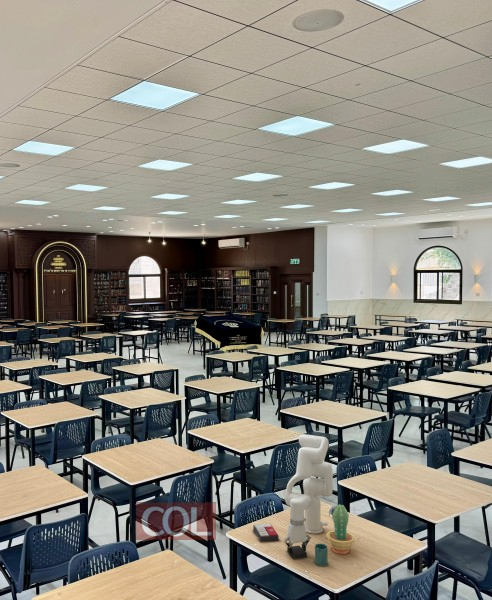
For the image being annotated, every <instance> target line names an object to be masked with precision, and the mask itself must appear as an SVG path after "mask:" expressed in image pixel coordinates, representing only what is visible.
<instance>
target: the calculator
mask: <svg viewBox="0 0 492 600" xmlns="http://www.w3.org/2000/svg"><path fill="white" fill-rule="evenodd" d="M252 526H253V529H252V531H253V533H254V534H255V535H256V537H257V538H258V540H259V542H261V543H263V542H264V543H265V542H278V541H279V537H280V535H279V534H278V532H277V531H276V530H275V528H274V526H273V525H272V523H258V524H253V525H252Z"/></svg>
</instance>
